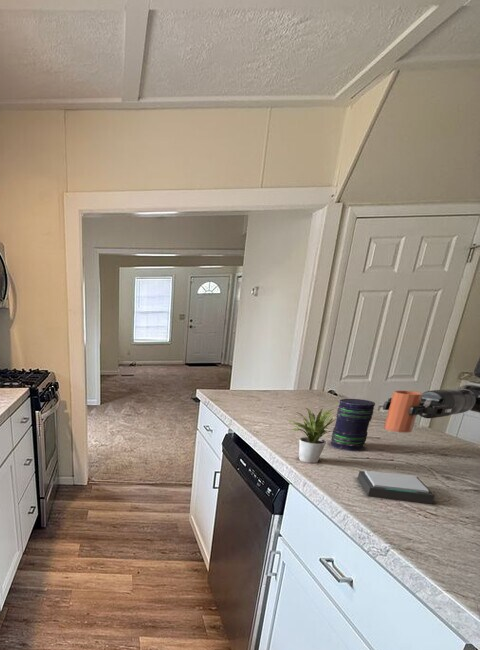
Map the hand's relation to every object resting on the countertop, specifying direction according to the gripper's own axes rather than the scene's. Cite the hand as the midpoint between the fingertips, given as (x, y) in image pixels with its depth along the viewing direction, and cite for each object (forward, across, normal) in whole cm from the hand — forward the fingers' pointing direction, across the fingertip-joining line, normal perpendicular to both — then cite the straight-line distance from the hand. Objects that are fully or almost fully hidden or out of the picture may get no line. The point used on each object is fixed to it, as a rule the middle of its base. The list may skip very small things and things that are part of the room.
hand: (397, 408), depth 106 cm
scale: (+10, +10, +18) cm, 23 cm away
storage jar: (-12, -20, +18) cm, 29 cm away
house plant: (+10, -15, +18) cm, 26 cm away
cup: (-2, 0, +6) cm, 6 cm away
